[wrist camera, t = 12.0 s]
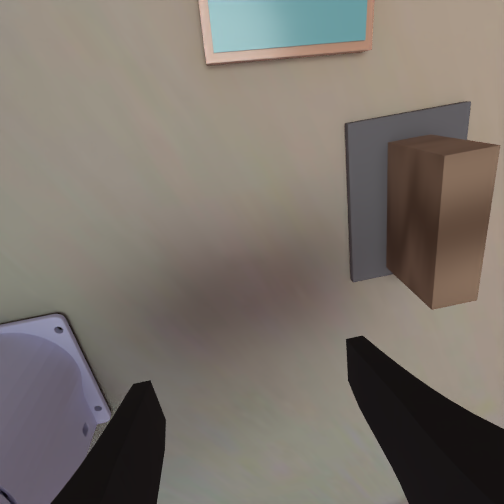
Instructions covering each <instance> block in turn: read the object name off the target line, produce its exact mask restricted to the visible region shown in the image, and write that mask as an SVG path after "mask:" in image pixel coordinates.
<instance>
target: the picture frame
mask: <svg viewBox="0 0 504 504" xmlns="http://www.w3.org/2000/svg"><path fill="white" fill-rule="evenodd" d="M198 1H199V10H200V18H201V26H202V34H203V42H204V50H205V58H206V65H218V64H230V63H241V62H253V61H265V60H276V59H288V58H300V57H311V56H323V55H335V54H346V53H358V52H365V51H368V50H372V35H373V17H374V0H198Z"/></svg>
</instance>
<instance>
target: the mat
mask: <svg viewBox="0 0 504 504" xmlns="http://www.w3.org/2000/svg"><path fill="white" fill-rule="evenodd" d="M470 106H471V102H460V103H455V104H449V105H444V106H438V107H433V108H427V109H422V110H416V111H411V112H405V113H400V114H394V115H389V116H383V117H378V118H372V119H367V120H361V121H356V122H350V123H345V138H346V164H347V190H348V217H349V243H350V269H351V280H352V281H353V282H357V281H362V280H367V279H371V278H376V277H381V276H386V275H391V274H393V273H392V272H391V271H390V270H389V269H388V268H387V267H386V246H387V168H388V142H392V141H398V140H403V139H408V138H414V137H419V136H425V135H430V134H431V135H438V136H444V137H450V138H457V139H463V140H467V134H468V124H469V115H470Z"/></svg>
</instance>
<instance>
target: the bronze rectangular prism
mask: <svg viewBox="0 0 504 504" xmlns="http://www.w3.org/2000/svg"><path fill="white" fill-rule="evenodd" d="M499 150H500V145H495V144H489V143H482V142H476V141H470V140H463V139H457V138H450V137H444V136H438V135H431V134H430V135H425V136H419V137H414V138H408V139H403V140H398V141H392V142H388V168H387V246H386V267H387V268H388V269H389V270H390V271H391V272H392V273H393V274H394V275H395V276H396V277H397V278H398V279H400V280H401V281H402V282H403V283H404V284H405V285H406V286H407V287H408V288H409V289H410V290H411V291H412V292H413V293H415V294H416V295H417V296H418V297H419V298H420V299H421V300H422V301H423V302H424V303H425V304H426V305H427V306H428V307H430V308H431V309H432V310H433V309H437V308H442V307H447V306H452V305H456V304H461V303H466V302H471V301H476V300H477V297H478V290H479V283H480V277H481V270H482V263H483V257H484V250H485V243H486V237H487V230H488V223H489V217H490V210H491V203H492V197H493V190H494V183H495V177H496V170H497V163H498V157H499Z"/></svg>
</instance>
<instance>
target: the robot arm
mask: <svg viewBox="0 0 504 504" xmlns="http://www.w3.org/2000/svg"><path fill="white" fill-rule="evenodd" d="M57 327H61V328H62V329H63V330H60V329H58V328H57ZM346 346H347V367H348V381H349V384H350V386H351V389H352V391H353V394H354V396H355V398H356V401H357V403H358V406H359V408H360V410H361V411H362V413H363V415H364V417H365V419H366V421H367V423H368V424H369V426H370V428H371V430H372V432H373V434H374V435H375V437H376V439H377V441H378V443H379V444H380V446H381V448H382V450H383V452H384V454H385V455H386V457H387V459H388V461H389V463H390V464H391V466H392V468H393V470H394V472H395V474H396V476H397V478H398V480H399V482H400V484H401V487H402V489H403V491H404V494H405V496H406V498H407V500H408V503H409V504H504V429H503V428H501V427H499V426H497V425H495V424H493V423H491V422H489V421H487V420H485V419H483V418H481V417H479V416H477V415H475V414H473V413H471V412H470V411H468V410H466V409H465V408H463V407H461V406H459V405H458V404H456V403H454V402H452V401H451V400H449V399H448V398H446V397H444V396H443V395H441V394H440V393H438V392H437V391H435V390H434V389H432V388H431V387H429V386H428V385H426V384H425V383H423V382H422V381H420V380H419V379H418V378H416V377H415V376H413V375H412V374H411V373H409V372H408V371H407V370H405V369H404V368H403V367H401V366H400V365H399V364H397V363H396V362H395V361H393V360H392V359H391V358H390V357H388V356H387V355H386V354H385V353H383V352H382V351H381V350H380V349H378V348H377V347H376V346H375V345H373V344H372V343H371V342H370V341H369V340H367V339H366V338H365V337H363V336H358V337H354V338H349V339H346ZM98 406H101V407H98ZM110 417H111V412H110V410H109V407H108V405H107V403H106V401H105V399H104V397H103V395H102V393H101V391H100V389H99V387H98V385H97V383H96V380H95V378H94V376H93V374H92V372H91V370H90V368H89V366H88V364H87V362H86V360H85V358H84V356H83V353H82V351H81V349H80V347H79V345H78V343H77V341H76V339H75V337H74V335H73V333H72V331H71V328H70V326H69V324H68V322H67V320H66V318H65V317H64V316H63V315H61V314H51V315H46V316H41V317H36V318H31V319H26V320H21V321H16V322H11V323H6V324H1V325H0V504H157V498H158V491H159V485H160V478H161V472H162V465H163V458H164V451H165V428H166V419H165V417H164V414H163V412H162V409H161V406H160V404H159V401H158V399H157V396H156V393H155V391H154V388H153V386H152V383H151V381H145V382H141V383H136V384H133V385H132V387H131V388H130V390H129V392H128V393H127V395H126V396H125V398H124V400H123V401H122V403H121V405H120V406H119V408H118V409H117V411H116V413H115V414H114V416H113V417H112V419H111V421H110V422H109V424H108V425H107V427H106V428H105V430H104V431H103V433H102V434H101V436H100V438H99V439H98V441H97V442H96V444H95V445H94V446H93V448H92V449H91V451H90V452H89V454H88V455H87V452H88V449H89V446H90V443H91V440H92V437H93V435H94V432H95V429H96V426H97V424H100V423H105V422H108V421H109V420H110ZM86 455H87V456H86Z"/></svg>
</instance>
